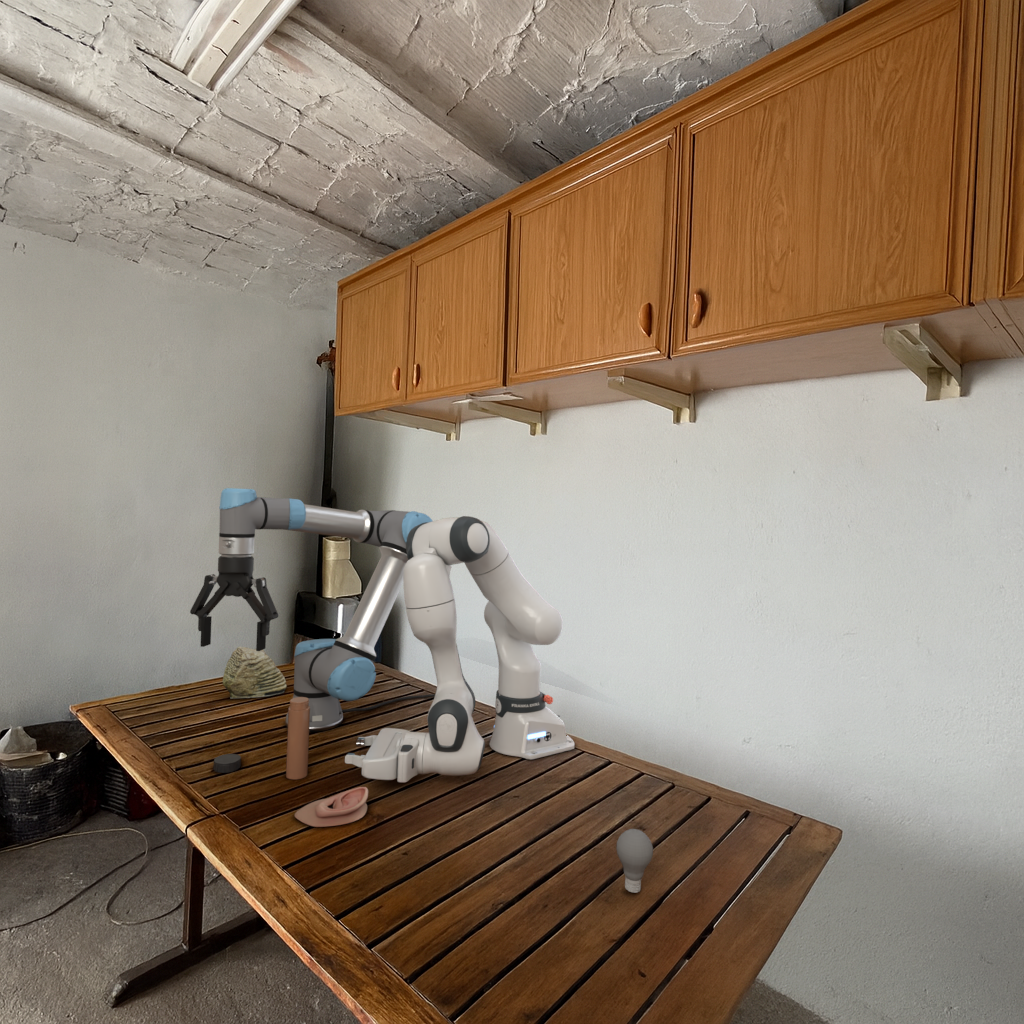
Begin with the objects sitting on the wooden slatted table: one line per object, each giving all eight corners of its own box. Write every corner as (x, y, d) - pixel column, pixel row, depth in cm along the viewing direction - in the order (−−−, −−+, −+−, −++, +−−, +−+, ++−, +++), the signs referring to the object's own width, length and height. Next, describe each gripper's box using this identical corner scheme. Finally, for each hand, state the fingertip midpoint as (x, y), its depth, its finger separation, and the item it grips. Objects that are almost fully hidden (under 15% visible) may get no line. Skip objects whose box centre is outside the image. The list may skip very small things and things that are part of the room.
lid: (208, 768, 145) (208, 759, 145) (230, 760, 150) (230, 751, 150) (223, 775, 142) (224, 766, 142) (246, 766, 147) (246, 757, 147)
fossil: (218, 695, 195) (220, 647, 195) (278, 685, 208) (279, 640, 207) (228, 703, 189) (230, 653, 188) (289, 692, 201) (290, 645, 201)
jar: (283, 773, 144) (286, 698, 144) (303, 769, 147) (306, 695, 146) (289, 781, 140) (292, 704, 140) (310, 776, 143) (313, 700, 143)
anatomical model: (286, 802, 122) (316, 777, 134) (285, 822, 122) (315, 795, 134) (350, 811, 120) (375, 785, 131) (349, 832, 120) (374, 804, 131)
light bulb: (610, 879, 108) (613, 822, 108) (644, 879, 109) (647, 822, 109) (619, 902, 102) (622, 840, 102) (655, 901, 103) (658, 840, 103)
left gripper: (175, 553, 143) (172, 647, 143) (279, 559, 140) (276, 655, 140) (196, 551, 150) (193, 640, 151) (295, 557, 147) (292, 647, 148)
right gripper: (420, 722, 153) (363, 719, 154) (404, 756, 133) (339, 753, 133) (419, 748, 154) (362, 745, 154) (403, 786, 133) (338, 783, 133)
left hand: (233, 647), depth 146 cm, fingers open, 13 cm apart
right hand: (351, 749), depth 143 cm, fingers open, 8 cm apart
